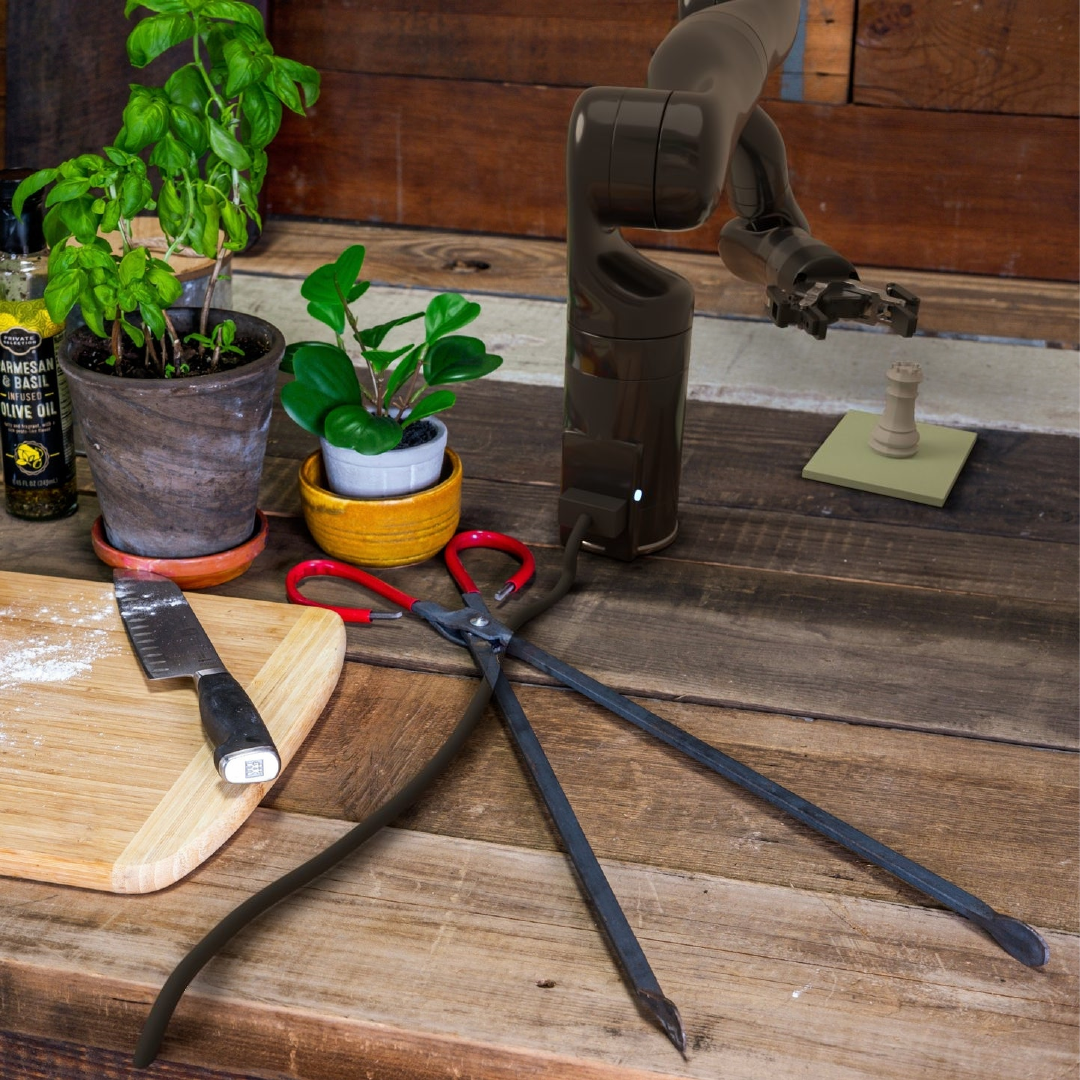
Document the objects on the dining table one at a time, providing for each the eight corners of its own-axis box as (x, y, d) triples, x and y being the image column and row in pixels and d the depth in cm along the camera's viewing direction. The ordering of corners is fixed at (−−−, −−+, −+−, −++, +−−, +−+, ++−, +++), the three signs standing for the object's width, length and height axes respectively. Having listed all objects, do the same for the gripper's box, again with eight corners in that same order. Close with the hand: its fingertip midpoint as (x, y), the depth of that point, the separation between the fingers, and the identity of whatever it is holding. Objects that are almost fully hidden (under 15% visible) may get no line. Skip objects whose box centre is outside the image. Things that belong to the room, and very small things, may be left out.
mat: (942, 507, 104) (943, 498, 104) (801, 477, 109) (802, 469, 109) (976, 440, 117) (977, 433, 117) (849, 416, 122) (850, 408, 121)
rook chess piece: (909, 463, 110) (924, 377, 106) (860, 452, 112) (873, 367, 108) (924, 447, 114) (939, 363, 110) (876, 435, 116) (889, 353, 112)
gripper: (748, 244, 129) (799, 291, 114) (880, 242, 130) (946, 288, 116) (741, 315, 132) (789, 369, 118) (870, 312, 134) (933, 365, 120)
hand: (867, 329), depth 117 cm, fingers open, 8 cm apart
